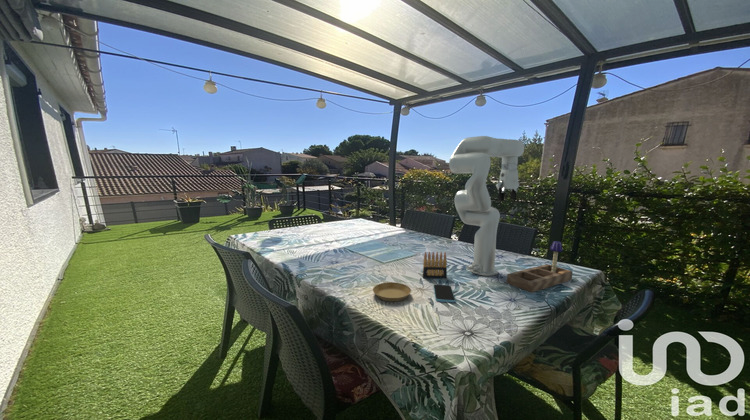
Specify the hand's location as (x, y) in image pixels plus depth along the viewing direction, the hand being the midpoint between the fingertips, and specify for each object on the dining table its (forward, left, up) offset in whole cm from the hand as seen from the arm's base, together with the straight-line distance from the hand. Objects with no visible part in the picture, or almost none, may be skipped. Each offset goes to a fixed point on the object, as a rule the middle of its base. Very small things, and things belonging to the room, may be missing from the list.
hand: (507, 199), depth 145 cm
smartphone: (-59, -18, -34) cm, 70 cm away
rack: (-13, -28, -33) cm, 45 cm away
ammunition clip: (-51, -3, -34) cm, 61 cm away
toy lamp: (-3, -28, -34) cm, 44 cm away
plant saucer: (-78, -10, -34) cm, 86 cm away
